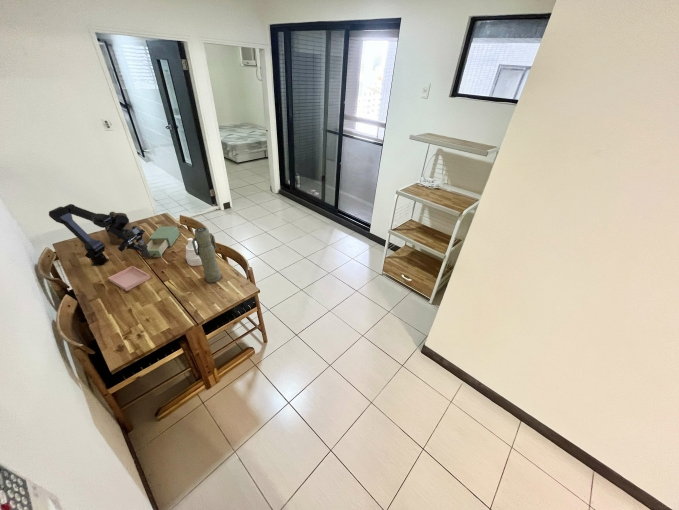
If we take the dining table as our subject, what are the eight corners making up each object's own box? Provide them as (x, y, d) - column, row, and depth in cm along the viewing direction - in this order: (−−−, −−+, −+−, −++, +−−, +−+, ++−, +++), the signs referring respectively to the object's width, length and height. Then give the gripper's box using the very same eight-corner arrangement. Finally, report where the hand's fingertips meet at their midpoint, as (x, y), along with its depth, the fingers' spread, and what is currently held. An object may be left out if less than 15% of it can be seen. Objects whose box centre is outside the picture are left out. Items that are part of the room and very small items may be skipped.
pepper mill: (139, 256, 171) (133, 241, 165) (146, 252, 175) (140, 237, 169) (144, 258, 170) (138, 243, 164) (151, 254, 173) (146, 239, 167)
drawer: (158, 260, 181) (156, 253, 178) (140, 260, 179) (137, 254, 176) (170, 243, 198) (168, 237, 195) (153, 244, 196) (151, 237, 193)
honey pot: (203, 266, 180) (197, 243, 170) (183, 265, 179) (176, 242, 169) (211, 255, 190) (205, 233, 180) (192, 254, 190) (186, 232, 180)
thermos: (226, 276, 172) (215, 228, 153) (208, 286, 164) (194, 236, 145) (218, 271, 177) (206, 223, 157) (200, 279, 169) (186, 230, 149)
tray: (109, 280, 163) (107, 277, 162) (134, 268, 174) (132, 265, 172) (126, 291, 157) (125, 287, 155) (150, 277, 167) (149, 274, 166)
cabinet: (170, 246, 196) (167, 238, 192) (152, 246, 195) (148, 238, 191) (179, 234, 211) (177, 226, 207) (162, 234, 209) (159, 226, 205)
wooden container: (133, 232, 209) (122, 205, 197) (138, 240, 201) (126, 213, 188) (109, 238, 201) (96, 211, 188) (113, 247, 192) (99, 219, 180)
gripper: (115, 232, 152) (141, 250, 159) (136, 217, 168) (160, 234, 174) (106, 243, 157) (132, 260, 163) (128, 227, 172) (151, 243, 178)
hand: (145, 248), depth 169 cm, fingers closed on pepper mill, 4 cm apart
